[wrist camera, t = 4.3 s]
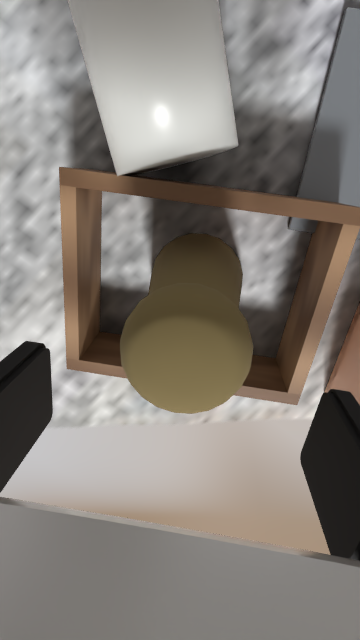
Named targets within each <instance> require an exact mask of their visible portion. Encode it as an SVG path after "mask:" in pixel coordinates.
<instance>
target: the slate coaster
mask: <svg viewBox="0 0 360 640" xmlns="http://www.w3.org/2000/svg"><path fill="white" fill-rule="evenodd" d="M296 197H300V198H307V199H314V200H322V201H329V202H337V203H342V204H347V205H352V206H357V207H360V9H359V8H350V7H347V9H346V10H345V11H344V14H343V18H342V22H341V26H340V30H339V34H338V38H337V41H336V45H335V49H334V53H333V57H332V61H331V65H330V68H329V72H328V76H327V80H326V84H325V88H324V92H323V95H322V99H321V103H320V107H319V111H318V115H317V118H316V122H315V126H314V130H313V134H312V138H311V142H310V145H309V149H308V153H307V157H306V161H305V165H304V169H303V172H302V176H301V180H300V184H299V188H298V192H297V195H296ZM317 224H318V220H311V219H304V218H296V217H291V219H290V222H289V226H288V229H289V230H296V231H304V232H311V233H315V231H316V227H317ZM356 239H360V229H359V232H358V235H357V238H356Z"/></svg>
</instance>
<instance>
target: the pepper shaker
mask: <svg viewBox="0 0 360 640" xmlns="http://www.w3.org/2000/svg"><path fill="white" fill-rule="evenodd" d="M242 277H243V273H242V269H241V265H240V261H239V259H238V257H237V256H236V254H235V253H234V251H233V250H232V248H231V247H230V246H228V245H227V244H226V243H224V242H223V241H222V240H221V239H219V238H216V237H213V236H211V235H208V234H197V233H190V234H187V235H184V236H180V237H177V238H175V239H174V240H172V241H171V242H170V243H168V244H167V245H165V246H164V247H163V249H162V250H161V252H160V253H159V254H158V256H157V257H156V260H155V263H154V266H153V270H152V275H151V281H150V287H149V293H148V296H146V297H145V298H143V299H142V300H140V302H139V303H138V304H137V306H136V307H135V308H134V310H133V311H132V312H131V314H130V315H129V317H128V318H127V320H126V321H125V324H124V328H123V331H122V335H121V338H120V354H121V365H122V367H123V369H124V371H125V374H126V376H127V378H128V380H129V382H130V383H131V385H132V386H133V387H134V388H135V389H136V391H137V392H138V393H139V394H140V395H141V396H142V397H143V398H144V399H146V400H147V401H149V402H150V403H152V404H153V405H155V406H157V407H159V408H162V409H165V410H168V411H171V412H174V413H189V414H193V413H198V412H203V411H209V410H211V409H213V408H215V407H217V406H219V405H221V404H223V403H225V402H226V401H227V400H228V399H229V398H230V397H231V396H233V395H234V394H235V393H236V392H237V391H238V390H239V389H240V388H241V387H242V385H243V383H244V381H245V379H246V377H247V375H248V373H249V371H250V367H251V362H252V354H253V342H252V338H251V335H250V331H249V327H248V323H247V320H246V319H245V317H244V316H243V314H242V313H241V311H240V310H239V309H238V308H239V301H240V294H241V287H242Z"/></svg>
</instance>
